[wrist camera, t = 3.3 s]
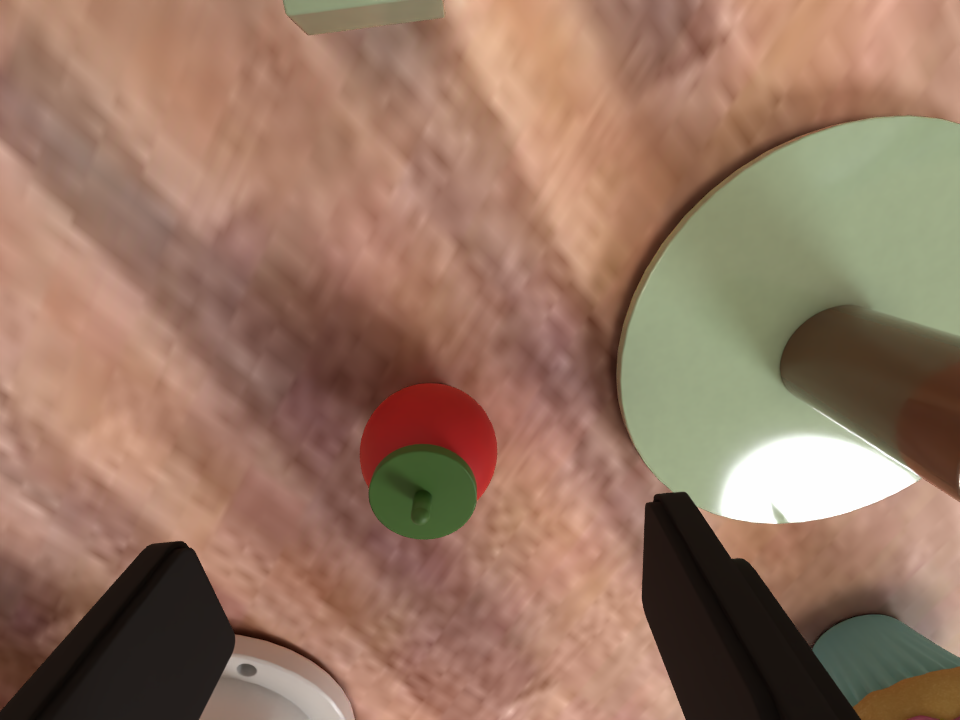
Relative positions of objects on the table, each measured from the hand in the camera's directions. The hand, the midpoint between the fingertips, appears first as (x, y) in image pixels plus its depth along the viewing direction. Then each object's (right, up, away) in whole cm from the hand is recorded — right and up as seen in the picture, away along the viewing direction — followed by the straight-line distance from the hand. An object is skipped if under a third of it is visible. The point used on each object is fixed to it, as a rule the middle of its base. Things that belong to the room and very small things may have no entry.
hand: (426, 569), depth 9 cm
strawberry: (-1, +2, +8) cm, 8 cm away
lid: (+13, +5, +6) cm, 15 cm away
